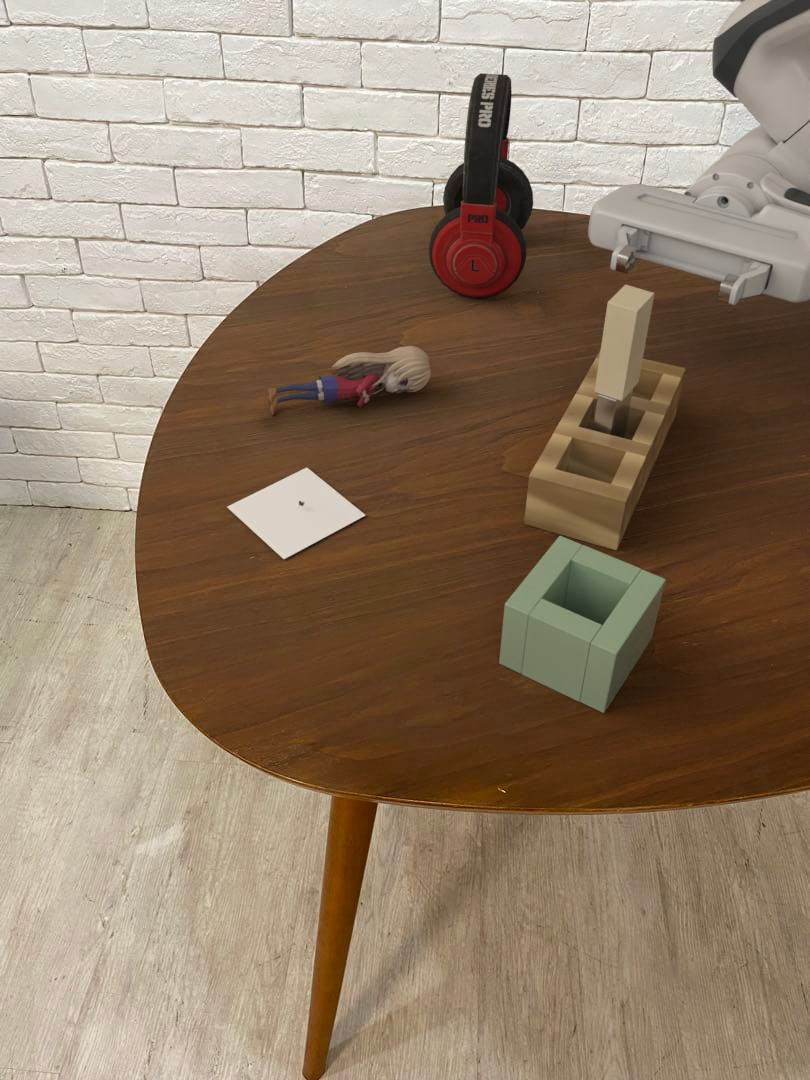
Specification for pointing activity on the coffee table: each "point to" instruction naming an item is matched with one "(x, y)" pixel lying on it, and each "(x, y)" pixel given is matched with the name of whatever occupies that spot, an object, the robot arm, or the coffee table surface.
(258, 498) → the white flat sheet
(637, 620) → the holder
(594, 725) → the coffee table surface
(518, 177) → the headphones
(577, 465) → the rack
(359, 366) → the figurine
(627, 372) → the knife
